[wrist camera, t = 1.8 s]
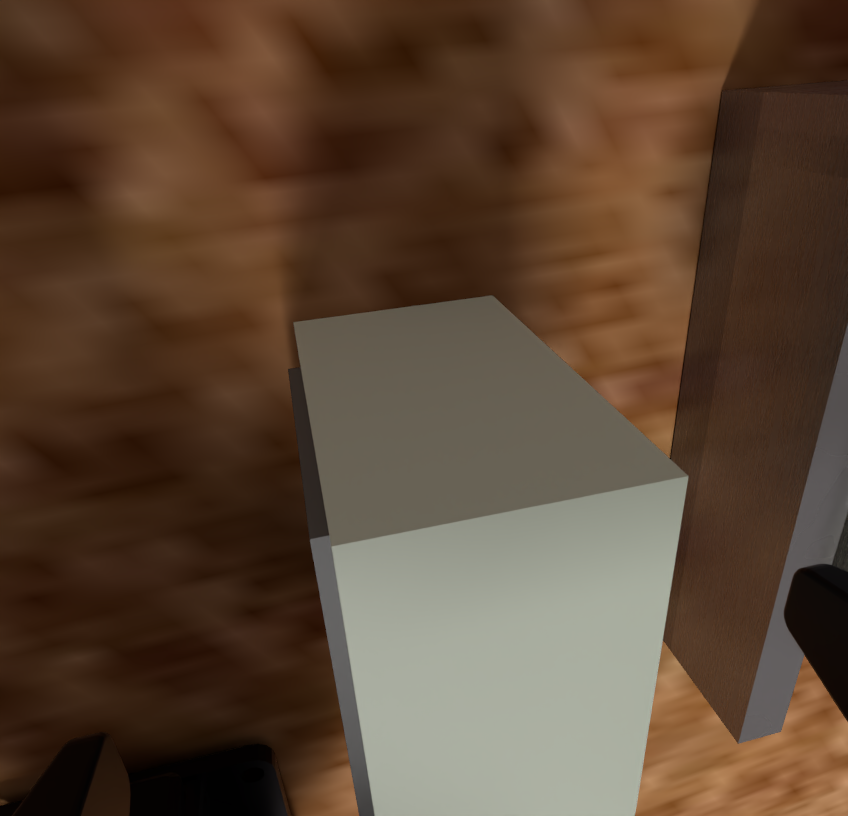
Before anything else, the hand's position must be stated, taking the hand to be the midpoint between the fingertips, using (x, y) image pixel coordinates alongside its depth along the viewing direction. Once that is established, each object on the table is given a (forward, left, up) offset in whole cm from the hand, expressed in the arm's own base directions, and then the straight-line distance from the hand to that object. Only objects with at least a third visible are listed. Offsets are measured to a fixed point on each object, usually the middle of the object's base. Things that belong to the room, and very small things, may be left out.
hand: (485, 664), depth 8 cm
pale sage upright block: (0, 0, -5) cm, 5 cm away
